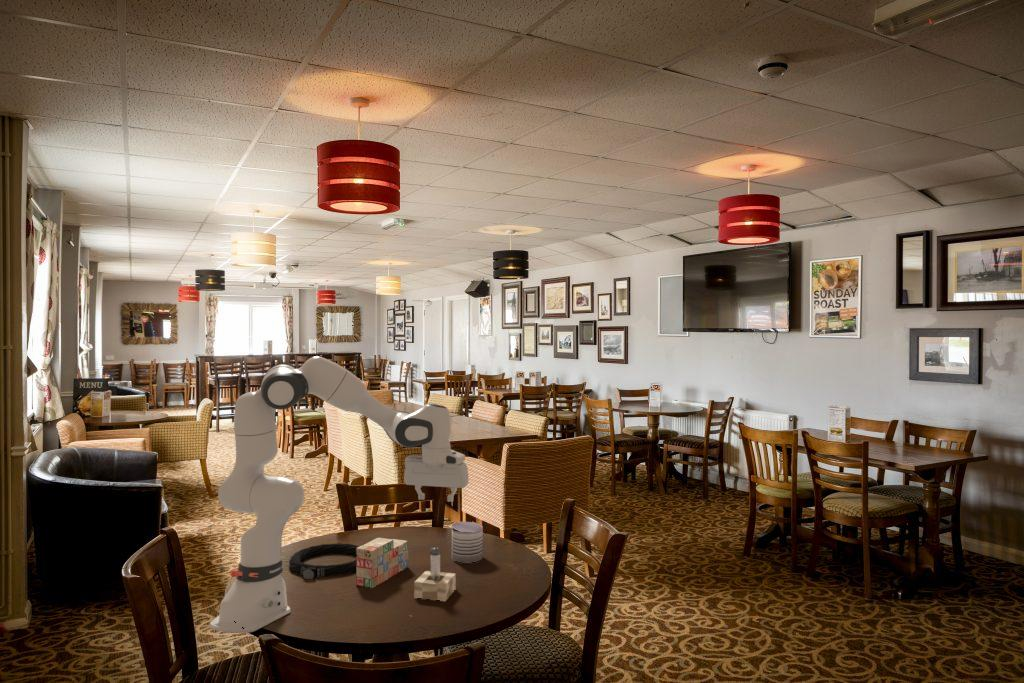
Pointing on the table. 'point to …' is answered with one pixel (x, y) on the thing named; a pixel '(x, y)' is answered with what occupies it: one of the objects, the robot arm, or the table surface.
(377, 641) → the table surface
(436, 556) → the silver metal rod
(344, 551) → the cable lock
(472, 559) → the can
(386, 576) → the stack of blocks
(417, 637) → the table surface
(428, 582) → the light wooden square frame
